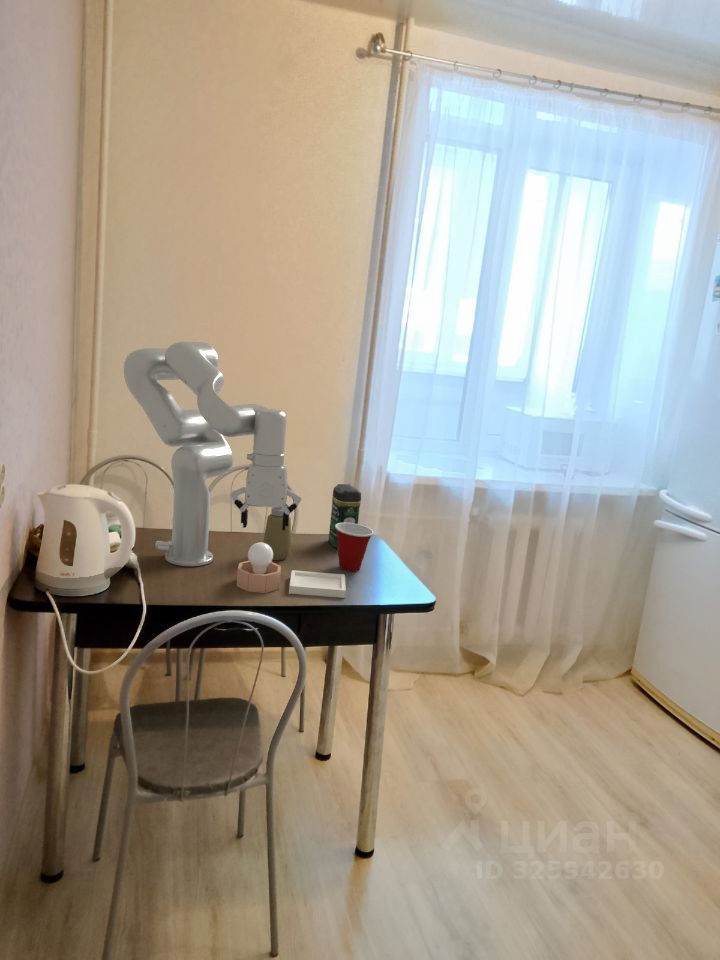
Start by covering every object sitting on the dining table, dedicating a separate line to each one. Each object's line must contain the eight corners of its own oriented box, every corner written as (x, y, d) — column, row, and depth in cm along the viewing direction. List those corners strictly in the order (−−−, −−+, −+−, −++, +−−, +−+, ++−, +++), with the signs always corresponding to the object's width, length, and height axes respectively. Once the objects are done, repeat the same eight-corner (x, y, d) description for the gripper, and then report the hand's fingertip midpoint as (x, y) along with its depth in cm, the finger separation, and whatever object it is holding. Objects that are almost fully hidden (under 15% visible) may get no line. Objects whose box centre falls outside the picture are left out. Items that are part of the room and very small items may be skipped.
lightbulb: (273, 588, 182) (276, 547, 179) (248, 589, 180) (251, 547, 177) (267, 579, 188) (271, 538, 185) (243, 579, 185) (246, 539, 183)
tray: (288, 593, 180) (289, 585, 179) (291, 577, 190) (291, 570, 190) (345, 597, 181) (345, 590, 180) (344, 581, 191) (344, 574, 191)
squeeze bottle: (292, 562, 201) (297, 500, 197) (263, 562, 199) (268, 499, 195) (288, 552, 209) (293, 492, 205) (260, 552, 207) (264, 491, 203)
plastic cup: (373, 576, 198) (377, 534, 195) (333, 574, 196) (338, 532, 193) (365, 562, 208) (370, 522, 205) (328, 560, 206) (332, 520, 203)
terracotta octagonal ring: (234, 590, 178) (235, 573, 177) (239, 574, 188) (241, 558, 187) (277, 593, 179) (279, 576, 178) (280, 578, 189) (281, 561, 188)
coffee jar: (325, 539, 224) (330, 481, 220) (349, 539, 227) (355, 482, 223) (333, 550, 215) (339, 490, 211) (359, 550, 218) (365, 490, 214)
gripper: (230, 460, 172) (227, 529, 176) (303, 465, 173) (298, 534, 177) (234, 454, 179) (231, 521, 183) (304, 459, 180) (299, 525, 184)
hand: (264, 527), depth 180 cm, fingers open, 9 cm apart
